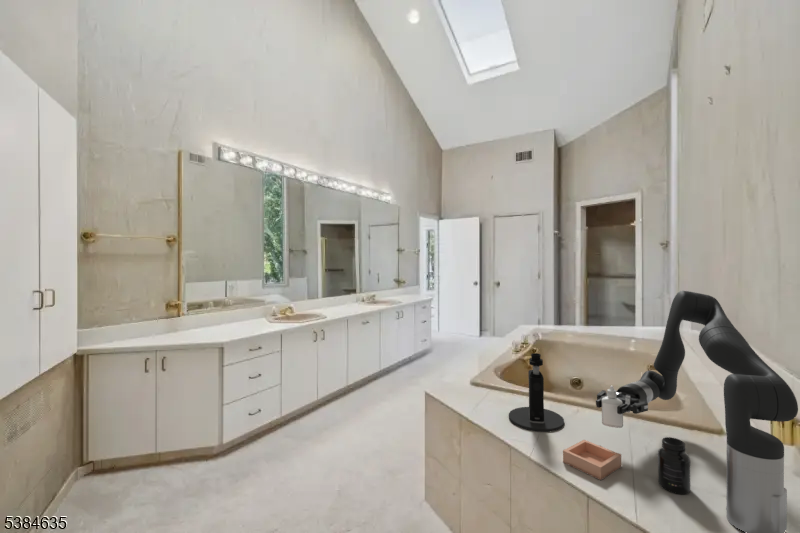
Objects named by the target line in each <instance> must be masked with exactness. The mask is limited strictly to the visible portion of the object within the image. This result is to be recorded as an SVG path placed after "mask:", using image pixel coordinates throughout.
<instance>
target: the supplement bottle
mask: <svg viewBox="0 0 800 533" xmlns="http://www.w3.org/2000/svg"><path fill="white" fill-rule="evenodd" d="M686 450H687V449H686V443H685V442H684V441H683V440H681V439H678V438H675V437H671V436H669V437H667V436H666V437H663V438H662V439H661V447H660V448H659V449H658V451H657V478H658V479H657V480H658V484H659V486H660V487H661V488H662V489H664V490H666V491H667V492H670V493H671V494H676V495H687V494H689V493H690V492H691V489H692V488H691V486H692V485H691V481H692V480H691V458H690V456H689V455H688V453H687V452H686Z"/></svg>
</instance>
